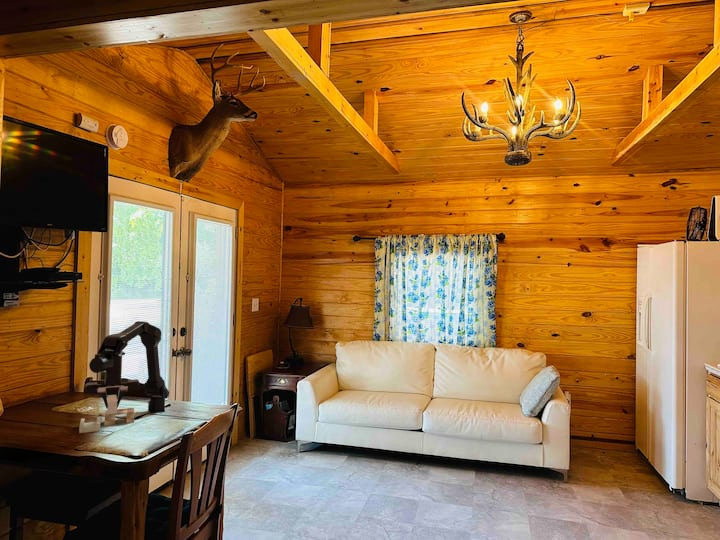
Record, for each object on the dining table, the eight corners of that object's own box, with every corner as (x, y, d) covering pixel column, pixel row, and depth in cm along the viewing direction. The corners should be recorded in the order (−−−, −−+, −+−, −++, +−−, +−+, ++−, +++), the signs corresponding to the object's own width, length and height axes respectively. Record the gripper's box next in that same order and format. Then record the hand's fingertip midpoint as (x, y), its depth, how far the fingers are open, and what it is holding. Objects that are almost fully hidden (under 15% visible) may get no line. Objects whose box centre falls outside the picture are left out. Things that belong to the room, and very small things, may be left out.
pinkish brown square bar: (107, 403, 197) (107, 395, 197) (115, 402, 198) (116, 394, 199) (107, 414, 181) (107, 405, 181) (116, 413, 183) (117, 404, 183)
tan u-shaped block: (133, 418, 206) (133, 407, 206) (134, 422, 200) (134, 411, 200) (104, 421, 201) (105, 410, 201) (104, 425, 195) (104, 414, 195)
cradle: (100, 423, 197) (100, 416, 197) (99, 430, 188) (100, 423, 188) (81, 425, 194) (81, 418, 194) (79, 433, 185) (79, 425, 185)
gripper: (138, 363, 198) (137, 400, 197) (86, 365, 189) (85, 405, 189) (140, 367, 188) (138, 407, 188) (85, 371, 179) (84, 412, 179)
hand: (112, 407), depth 186 cm, fingers closed on pinkish brown square bar, 3 cm apart
